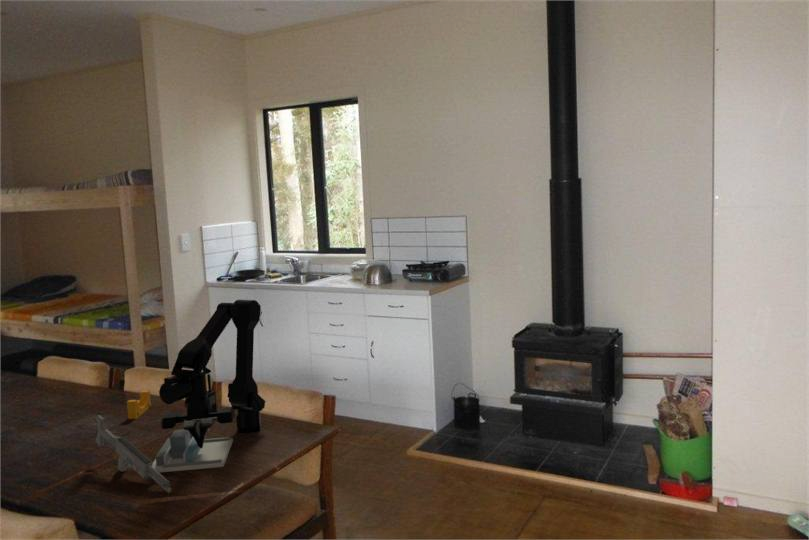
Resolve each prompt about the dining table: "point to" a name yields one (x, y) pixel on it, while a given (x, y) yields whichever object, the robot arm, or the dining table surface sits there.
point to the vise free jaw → (191, 451)
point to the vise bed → (207, 456)
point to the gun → (130, 455)
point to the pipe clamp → (139, 405)
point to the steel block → (179, 443)
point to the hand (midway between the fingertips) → (201, 447)
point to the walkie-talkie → (211, 396)
